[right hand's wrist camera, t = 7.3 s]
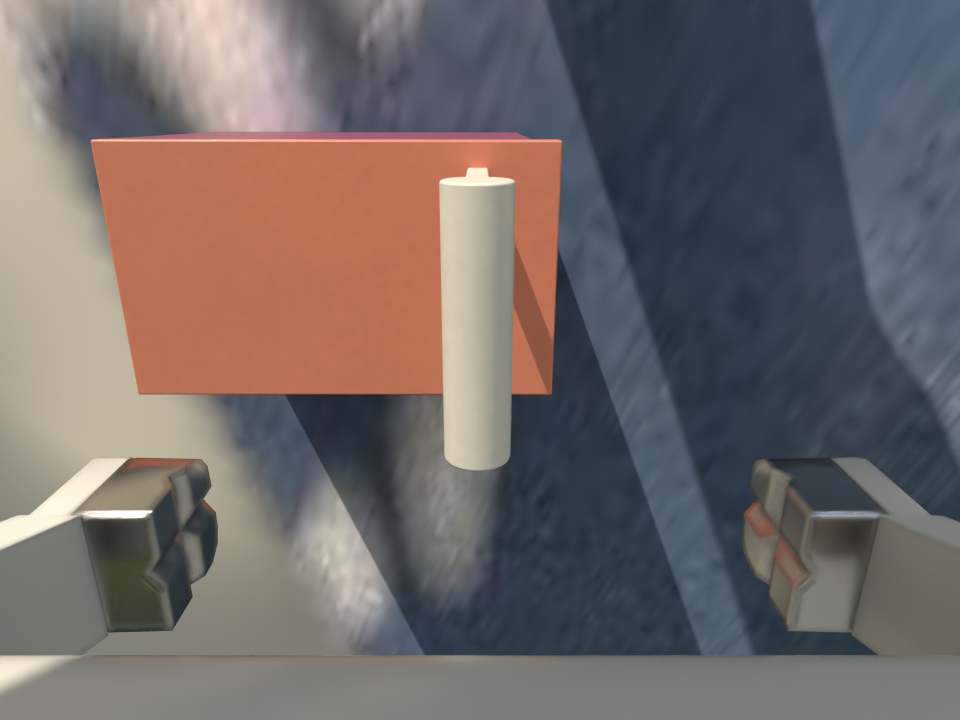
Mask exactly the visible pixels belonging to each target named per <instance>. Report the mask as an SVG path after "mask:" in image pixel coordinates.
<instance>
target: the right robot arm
mask: <svg viewBox="0 0 960 720" xmlns="http://www.w3.org/2000/svg"><path fill="white" fill-rule="evenodd" d="M210 488H211V481H210V476H209V471H208V466H207V465H206V464H205V463H204V462H203V460H202V459H167V458H132V457H118V458H97V459H93V460H92V461H91V462H90V463H88V464H87V465H86V466H85V467H84V468H83V469H81V470H80V471H79V472H78V473H77V474H76V475H75V476H74V477H72V478H71V479H70V480H69V481H68V482H67V483H65V484H64V485H63V486H62V487H61V488H60V489H59V490H58V491H56V492H55V493H54V494H53V495H52V496H51V497H49V498H48V499H47V500H46V501H45V502H44V503H43V504H41V505H40V506H39V507H38V508H37V509H36V510H35V511H33V512H32V513H31V514H30V515H18V516H15V517H12V518H10V519H7V520H5V521H2V522H0V720H960V522H958V521H955V520H953V519H950V518H948V517H945V516H943V515H930V514H929V513H928V512H927V511H925V510H924V509H923V508H922V507H921V506H920V505H919V504H917V503H916V502H915V501H914V500H913V499H912V498H911V497H910V496H908V495H907V494H906V493H905V492H904V491H903V490H902V489H900V488H899V487H898V486H897V485H896V484H895V483H894V482H892V481H891V480H890V479H889V478H888V477H887V476H886V475H884V474H883V473H882V472H881V471H880V470H879V469H878V468H876V467H875V466H874V465H873V464H872V463H871V462H870V461H868V460H867V459H864V458H860V457H846V458H794V459H763V460H757V461H755V463H754V466H753V468H752V470H751V474H750V480H749V488H750V489H751V491H752V493H753V494H754V496H755V497H756V501H755V502H754V503H753V504H752V505H751V506H750V507H749V508H748V509H747V510H746V511H745V512H744V518H743V527H742V539H743V549H744V553H745V556H746V559H747V562H748V565H749V566H750V568H751V570H752V572H753V573H754V575H755V576H756V577H758V578H759V579H761V580H763V581H764V582H766V583H767V584H769V590H768V596H767V597H768V599H769V600H770V602H771V604H772V605H773V607H774V609H775V610H776V612H777V614H778V615H779V617H780V618H781V620H782V622H783V623H784V625H785V627H786V628H787V630H788V631H816V632H852V636H853V637H855V638H856V639H857V640H859V641H860V642H861V643H863V644H864V645H865V646H867V647H868V648H870V649H871V650H872V651H874V652H875V653H876V654H878V655H82V654H84V653H85V652H86V651H88V650H89V649H91V648H92V647H93V646H95V645H96V644H97V643H99V642H100V641H102V640H103V639H104V638H106V637H107V636H108V632H143V631H172V630H173V628H174V627H175V625H176V623H177V622H178V620H179V619H180V617H181V615H182V614H183V612H184V610H185V609H186V607H187V605H188V604H189V602H190V600H191V599H192V591H191V584H192V583H194V582H196V581H197V580H199V579H201V578H202V577H204V576H205V575H206V573H207V572H208V570H209V568H210V566H211V565H212V563H213V560H214V556H215V552H216V548H217V543H218V525H217V517H216V512H215V511H214V510H213V509H212V508H211V507H210V506H209V505H208V504H207V503H206V502H205V501H204V500H203V499H204V497H205V496H206V494H207V493H208V491H209V489H210Z"/></svg>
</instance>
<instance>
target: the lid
mask: <svg viewBox="0 0 960 720" xmlns="http://www.w3.org/2000/svg"><path fill="white" fill-rule="evenodd" d="M91 145H92V150H93V156H94V161H95V166H96V172H97V177H98V182H99V187H100V193H101V198H102V203H103V208H104V214H105V219H106V224H107V229H108V235H109V240H110V245H111V251H112V256H113V261H114V266H115V272H116V277H117V282H118V287H119V293H120V298H121V303H122V309H123V314H124V319H125V324H126V330H127V335H128V340H129V345H130V351H131V356H132V361H133V367H134V372H135V377H136V382H137V387H138V393H139V394H443V410H444V456H445V458H446V460H447V462H448V463H449V464H451V465H452V466H454V467H456V468H459V469H462V470H467V471H487V470H492V469H496V468H498V467H501V466H502V465H504V464H505V463H506V462H507V461H508V460H509V458H510V444H511V394H552V378H553V354H554V330H555V306H556V283H557V259H558V235H559V211H560V188H561V164H562V141H560V140H461V139H97V140H91Z"/></svg>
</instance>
